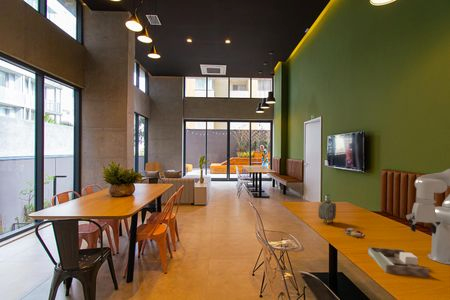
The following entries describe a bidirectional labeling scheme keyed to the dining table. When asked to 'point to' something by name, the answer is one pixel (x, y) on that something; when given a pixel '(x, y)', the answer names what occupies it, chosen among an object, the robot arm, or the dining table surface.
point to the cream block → (408, 258)
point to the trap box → (395, 262)
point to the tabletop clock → (327, 210)
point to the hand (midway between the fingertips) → (423, 232)
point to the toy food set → (354, 232)
